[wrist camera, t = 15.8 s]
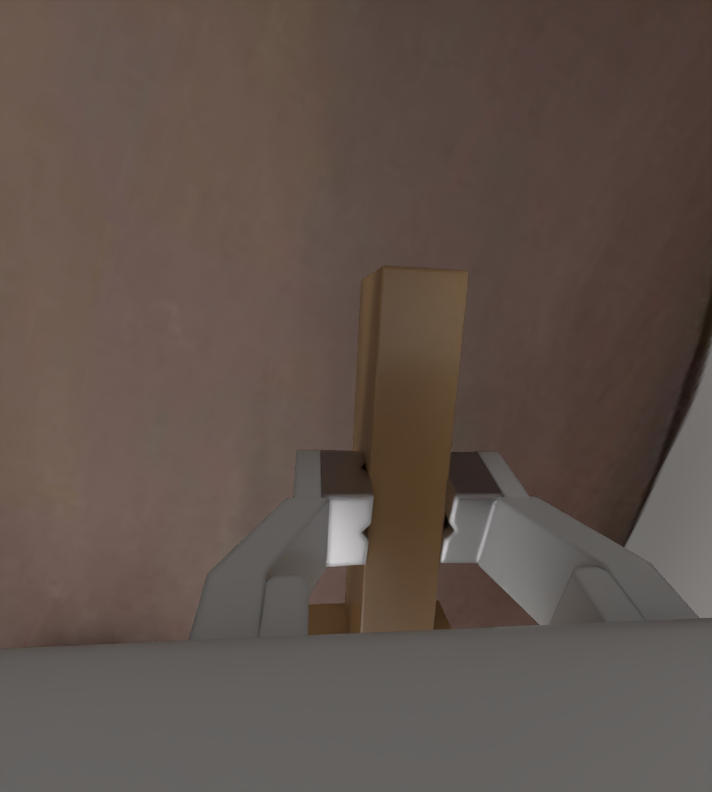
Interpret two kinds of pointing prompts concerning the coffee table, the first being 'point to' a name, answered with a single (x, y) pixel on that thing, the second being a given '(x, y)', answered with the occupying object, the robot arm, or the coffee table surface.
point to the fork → (402, 447)
